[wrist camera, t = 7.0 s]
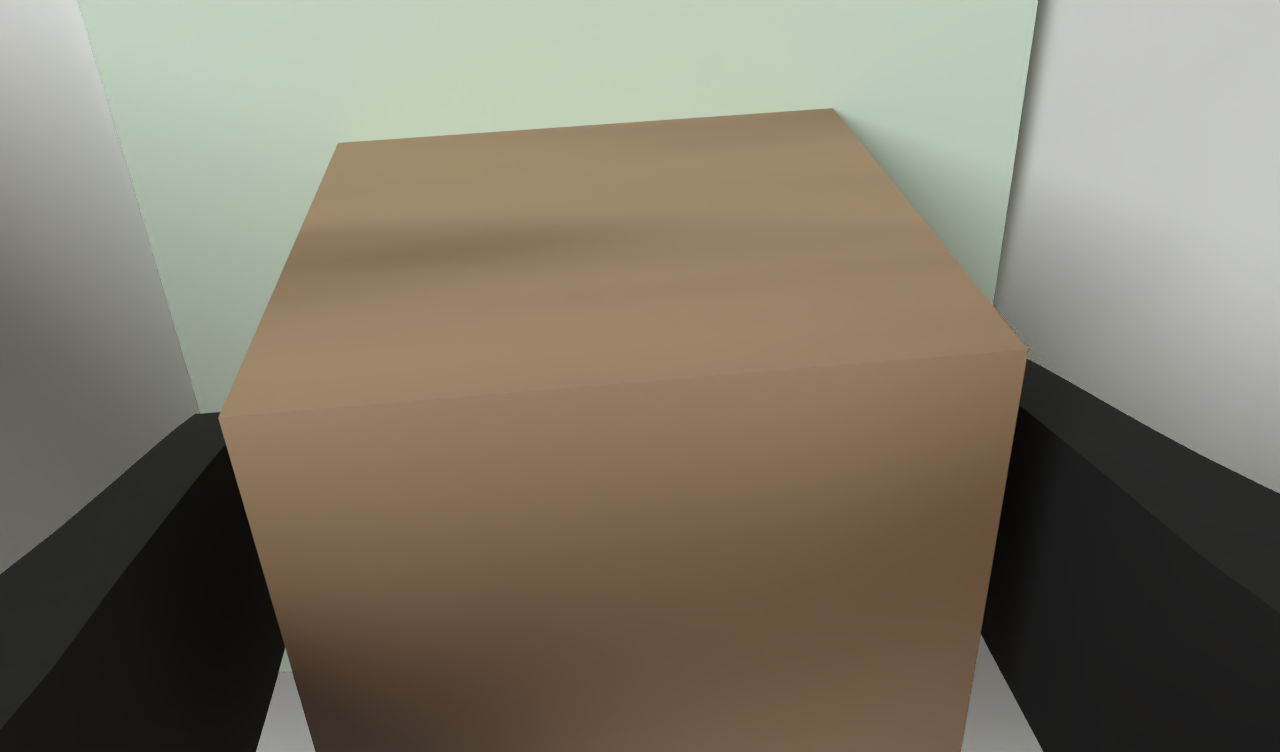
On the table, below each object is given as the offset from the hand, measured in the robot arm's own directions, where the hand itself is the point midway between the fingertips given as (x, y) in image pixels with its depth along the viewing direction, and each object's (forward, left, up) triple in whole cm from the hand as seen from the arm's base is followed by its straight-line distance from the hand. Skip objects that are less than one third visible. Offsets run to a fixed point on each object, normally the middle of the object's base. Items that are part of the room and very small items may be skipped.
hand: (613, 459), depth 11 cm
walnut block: (0, 0, -2) cm, 2 cm away
